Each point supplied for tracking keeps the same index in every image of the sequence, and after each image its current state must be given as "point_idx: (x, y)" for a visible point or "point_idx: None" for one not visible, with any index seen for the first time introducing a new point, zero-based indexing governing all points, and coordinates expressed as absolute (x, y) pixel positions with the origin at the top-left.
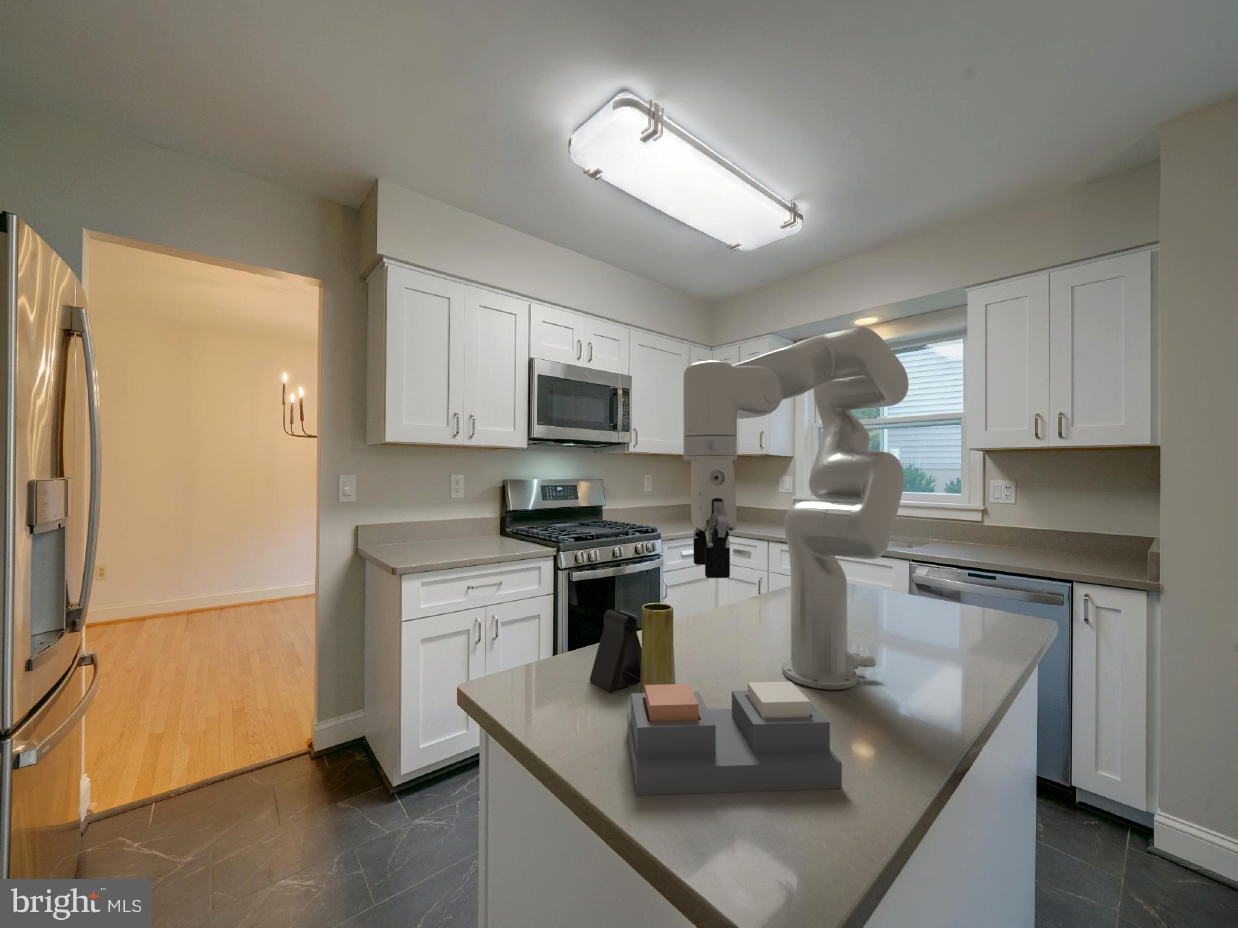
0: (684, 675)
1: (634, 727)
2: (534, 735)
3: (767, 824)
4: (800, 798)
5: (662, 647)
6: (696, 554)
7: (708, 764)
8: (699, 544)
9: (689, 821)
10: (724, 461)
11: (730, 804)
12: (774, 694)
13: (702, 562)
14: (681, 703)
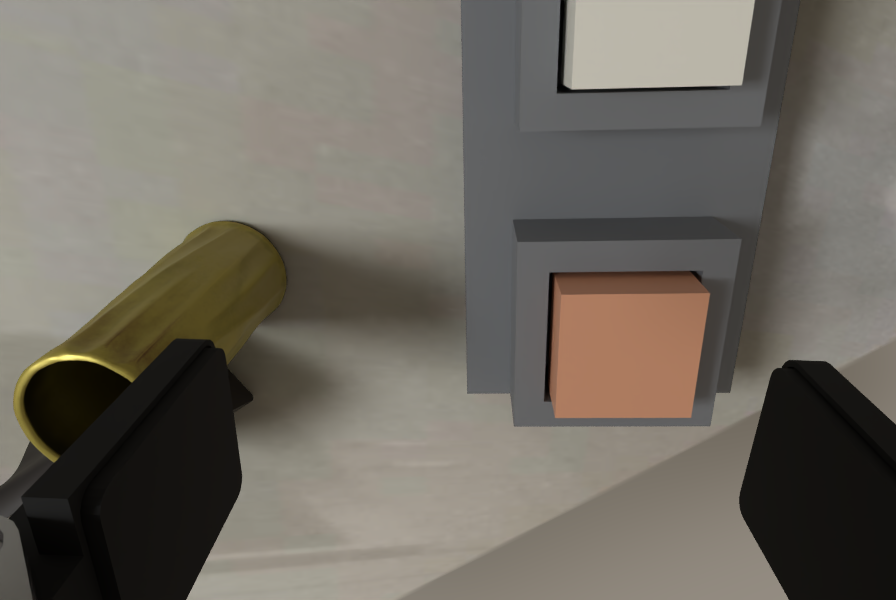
0: (89, 171)
1: None
2: (469, 536)
3: (862, 127)
4: (800, 13)
5: (223, 331)
6: (214, 536)
7: (747, 242)
8: (162, 592)
9: (809, 280)
10: None
11: (780, 188)
12: (687, 15)
13: (233, 443)
14: (696, 338)
